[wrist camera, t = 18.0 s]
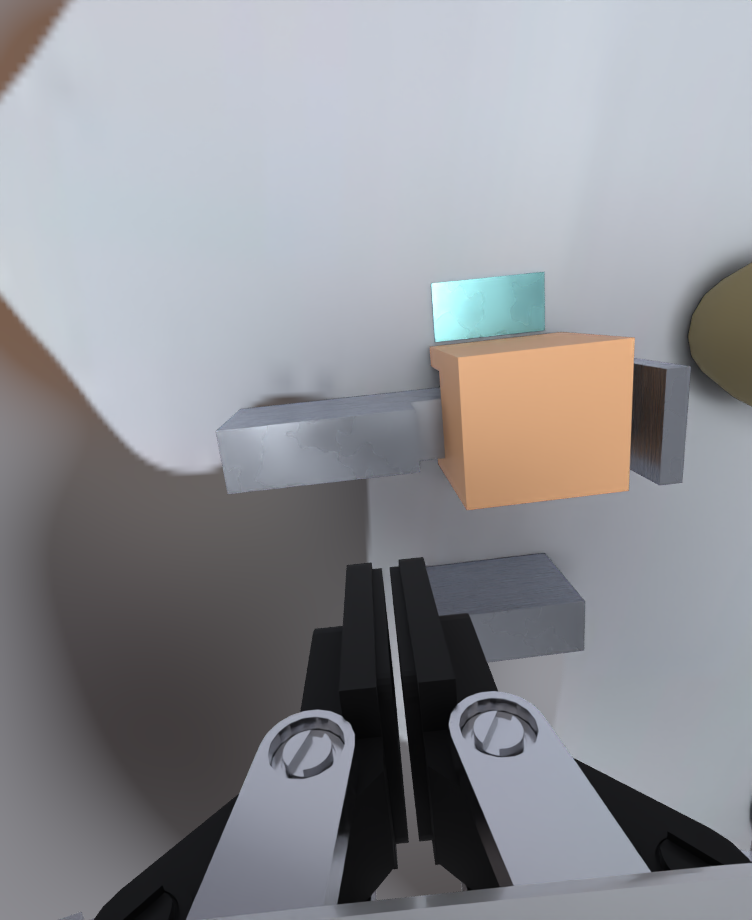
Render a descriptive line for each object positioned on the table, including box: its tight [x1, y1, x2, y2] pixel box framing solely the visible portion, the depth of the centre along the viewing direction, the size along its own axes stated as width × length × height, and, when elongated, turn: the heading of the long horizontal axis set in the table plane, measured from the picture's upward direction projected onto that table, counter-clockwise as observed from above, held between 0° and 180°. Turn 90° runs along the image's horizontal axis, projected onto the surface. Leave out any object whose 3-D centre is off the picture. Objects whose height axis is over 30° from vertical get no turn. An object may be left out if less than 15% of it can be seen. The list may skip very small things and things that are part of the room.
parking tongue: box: [426, 553, 585, 662], centre depth 29 cm, size 3×8×6 cm, turn 96°
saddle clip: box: [430, 332, 635, 510], centre depth 24 cm, size 6×7×7 cm
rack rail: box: [216, 272, 691, 494], centre depth 24 cm, size 10×20×8 cm, turn 96°
